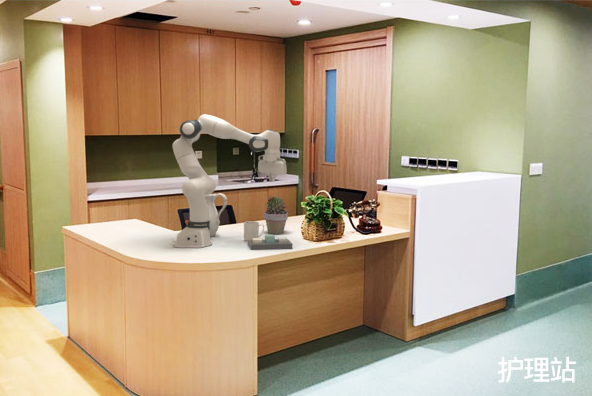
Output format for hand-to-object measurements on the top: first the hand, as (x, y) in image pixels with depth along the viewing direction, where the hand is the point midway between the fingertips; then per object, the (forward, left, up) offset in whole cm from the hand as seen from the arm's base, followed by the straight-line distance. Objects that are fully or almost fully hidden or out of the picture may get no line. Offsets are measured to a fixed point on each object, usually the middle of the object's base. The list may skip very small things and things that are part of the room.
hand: (272, 181), depth 348 cm
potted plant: (+9, +31, -37) cm, 49 cm away
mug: (-9, +9, -37) cm, 40 cm away
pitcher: (-34, +25, -37) cm, 56 cm away
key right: (+5, -10, -36) cm, 38 cm away
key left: (-10, -10, -36) cm, 39 cm away
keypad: (-3, -10, -37) cm, 38 cm away
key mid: (-3, -10, -34) cm, 36 cm away
